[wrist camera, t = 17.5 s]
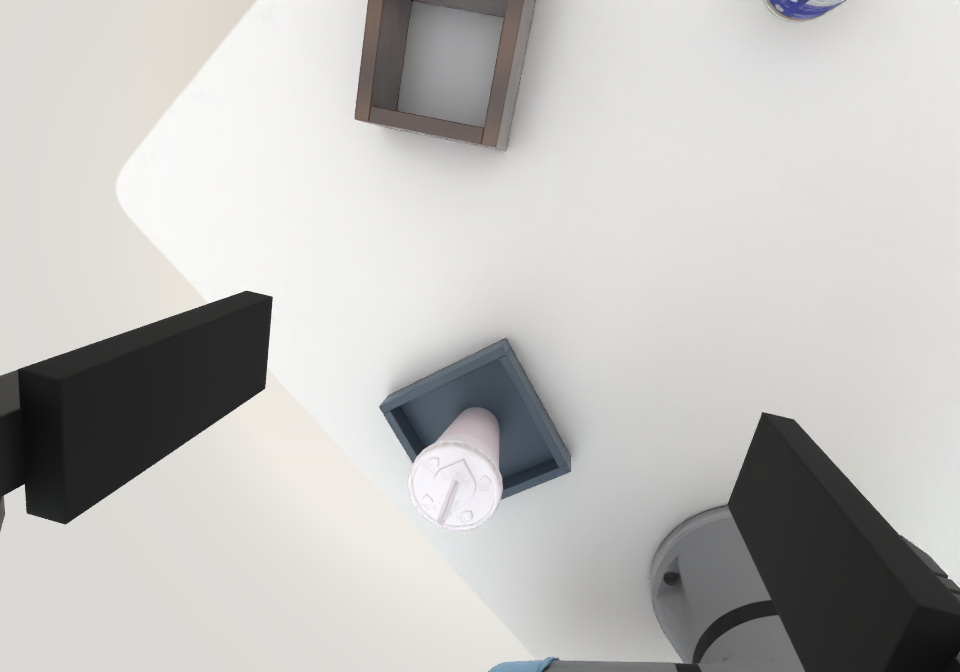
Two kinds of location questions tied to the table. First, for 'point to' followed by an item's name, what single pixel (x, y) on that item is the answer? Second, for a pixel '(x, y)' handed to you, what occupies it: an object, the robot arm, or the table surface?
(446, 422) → the tray
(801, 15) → the pill bottle
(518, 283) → the table surface
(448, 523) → the smoothie
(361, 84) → the rack
